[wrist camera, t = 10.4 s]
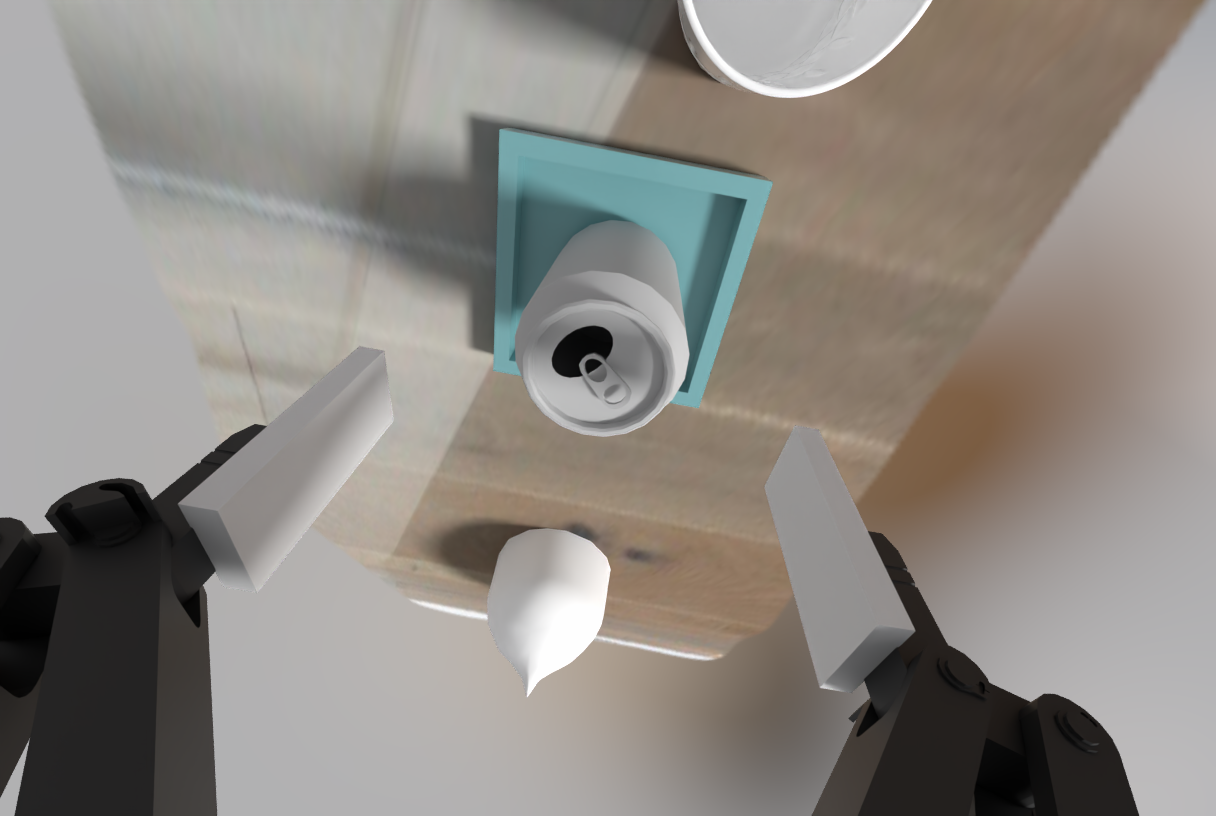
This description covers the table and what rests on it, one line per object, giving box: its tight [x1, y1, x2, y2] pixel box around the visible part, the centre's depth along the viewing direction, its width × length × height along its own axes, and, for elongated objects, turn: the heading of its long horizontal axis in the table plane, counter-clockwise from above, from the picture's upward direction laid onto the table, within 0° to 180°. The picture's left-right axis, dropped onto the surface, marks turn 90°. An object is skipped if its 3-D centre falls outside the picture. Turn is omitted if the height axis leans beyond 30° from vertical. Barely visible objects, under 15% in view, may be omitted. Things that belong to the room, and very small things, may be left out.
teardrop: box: [487, 528, 610, 697], centre depth 40 cm, size 11×11×12 cm
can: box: [515, 220, 689, 437], centre depth 23 cm, size 8×8×12 cm
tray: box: [493, 128, 773, 408], centre depth 28 cm, size 14×14×2 cm
